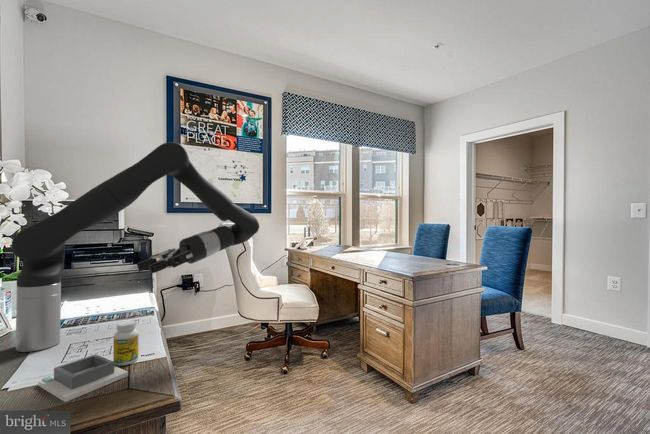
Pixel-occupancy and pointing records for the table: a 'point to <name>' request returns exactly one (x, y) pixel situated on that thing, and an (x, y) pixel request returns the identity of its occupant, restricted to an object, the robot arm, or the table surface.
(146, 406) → the table surface
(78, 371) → the dock
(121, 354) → the supplement bottle
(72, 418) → the table surface
